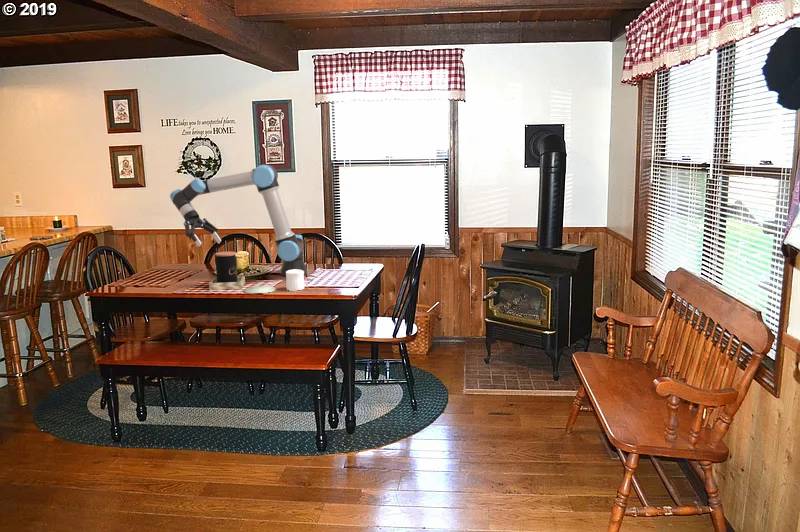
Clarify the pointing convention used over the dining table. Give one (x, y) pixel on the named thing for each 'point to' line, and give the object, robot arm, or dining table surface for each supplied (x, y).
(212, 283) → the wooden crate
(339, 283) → the dining table surface
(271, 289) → the sage mat
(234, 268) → the coffee jar
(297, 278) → the cup
